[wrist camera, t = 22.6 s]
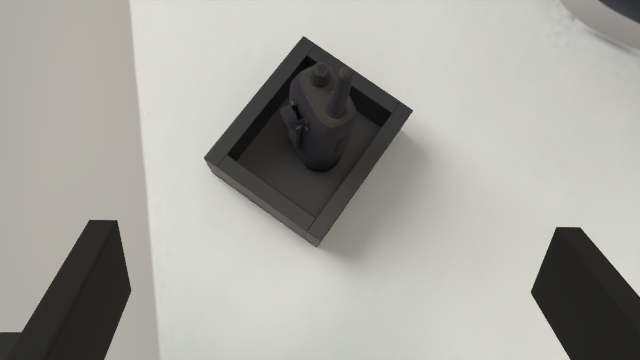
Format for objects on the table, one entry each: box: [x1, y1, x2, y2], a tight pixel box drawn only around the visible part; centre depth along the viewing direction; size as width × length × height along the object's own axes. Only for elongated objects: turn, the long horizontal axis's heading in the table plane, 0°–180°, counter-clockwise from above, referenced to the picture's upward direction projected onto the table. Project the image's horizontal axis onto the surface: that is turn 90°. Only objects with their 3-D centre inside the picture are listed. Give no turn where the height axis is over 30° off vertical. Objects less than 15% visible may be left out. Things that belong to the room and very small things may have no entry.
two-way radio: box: [280, 62, 357, 172], centre depth 32 cm, size 6×4×15 cm
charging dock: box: [204, 36, 413, 247], centre depth 38 cm, size 10×12×4 cm
